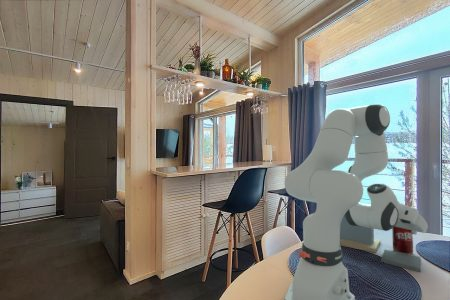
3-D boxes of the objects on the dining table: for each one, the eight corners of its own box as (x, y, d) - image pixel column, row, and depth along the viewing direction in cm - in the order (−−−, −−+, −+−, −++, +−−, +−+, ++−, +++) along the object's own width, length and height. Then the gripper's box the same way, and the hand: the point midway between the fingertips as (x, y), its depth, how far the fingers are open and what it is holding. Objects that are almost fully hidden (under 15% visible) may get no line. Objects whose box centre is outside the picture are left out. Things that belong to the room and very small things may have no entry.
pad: (420, 271, 84) (420, 268, 84) (381, 262, 92) (381, 259, 92) (420, 260, 93) (420, 257, 93) (384, 252, 101) (384, 249, 101)
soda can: (417, 254, 98) (416, 226, 98) (400, 254, 98) (399, 226, 99) (404, 247, 105) (404, 221, 106) (389, 248, 106) (388, 222, 106)
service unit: (375, 252, 101) (374, 212, 101) (332, 243, 113) (331, 207, 113) (380, 243, 112) (379, 206, 112) (340, 235, 123) (339, 202, 124)
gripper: (363, 212, 106) (375, 229, 110) (418, 223, 88) (429, 243, 93) (368, 201, 108) (380, 219, 113) (422, 210, 90) (433, 230, 95)
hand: (402, 230), depth 102 cm, fingers closed on soda can, 7 cm apart
